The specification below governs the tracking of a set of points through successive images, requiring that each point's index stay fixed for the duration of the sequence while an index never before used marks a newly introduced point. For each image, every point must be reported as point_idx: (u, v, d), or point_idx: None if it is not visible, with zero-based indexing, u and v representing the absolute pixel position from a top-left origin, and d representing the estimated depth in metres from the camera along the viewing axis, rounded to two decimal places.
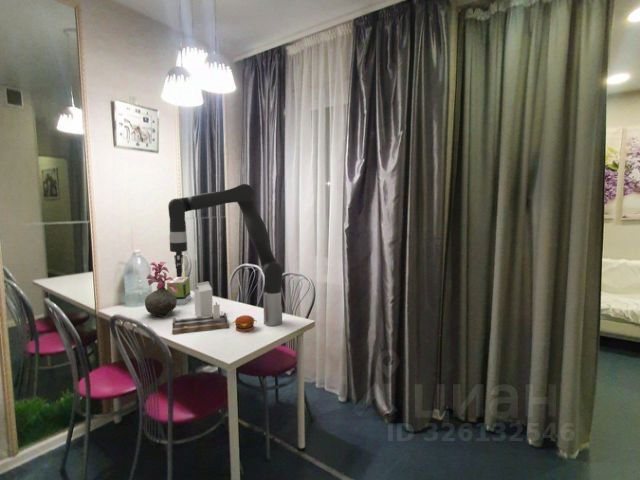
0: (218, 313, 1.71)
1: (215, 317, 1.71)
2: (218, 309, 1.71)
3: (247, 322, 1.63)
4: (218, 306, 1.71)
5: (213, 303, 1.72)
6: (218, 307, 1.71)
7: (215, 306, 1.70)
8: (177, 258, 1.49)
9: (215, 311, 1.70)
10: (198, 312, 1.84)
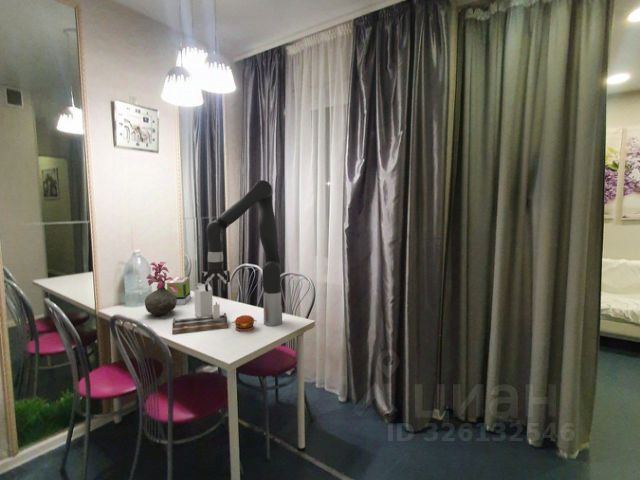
0: (218, 313, 1.71)
1: (215, 317, 1.71)
2: (218, 309, 1.71)
3: (247, 322, 1.63)
4: (218, 306, 1.71)
5: (213, 303, 1.72)
6: (218, 307, 1.71)
7: (215, 306, 1.70)
8: None
9: (215, 311, 1.70)
10: (198, 312, 1.84)
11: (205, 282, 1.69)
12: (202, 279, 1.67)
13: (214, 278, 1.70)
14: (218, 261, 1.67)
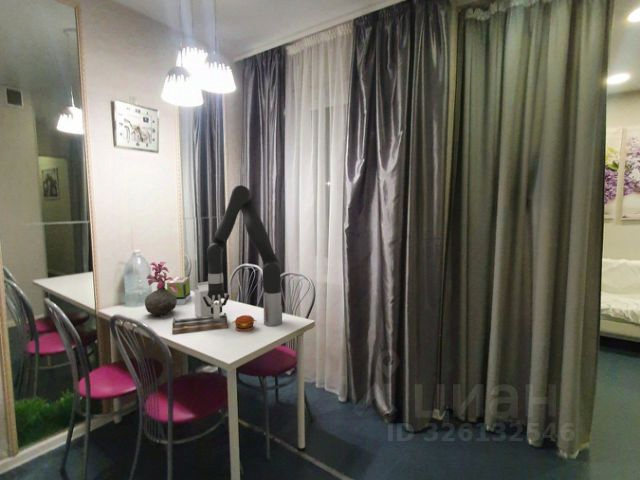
0: (218, 313, 1.71)
1: (215, 317, 1.71)
2: (218, 309, 1.71)
3: (247, 322, 1.63)
4: (218, 306, 1.71)
5: None
6: (218, 307, 1.71)
7: (215, 306, 1.70)
8: None
9: (215, 311, 1.70)
10: (198, 312, 1.84)
11: (211, 305, 1.71)
12: (206, 303, 1.69)
13: (216, 298, 1.71)
14: (218, 283, 1.68)
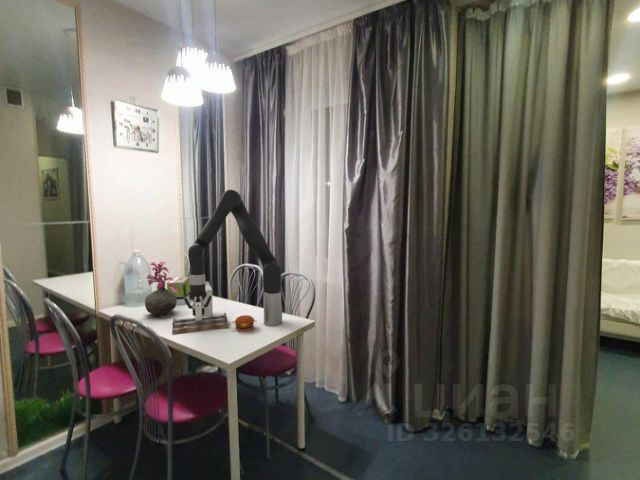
0: (200, 315, 1.68)
1: (197, 319, 1.68)
2: (200, 311, 1.68)
3: (247, 322, 1.63)
4: (200, 308, 1.68)
5: (195, 305, 1.69)
6: (200, 309, 1.68)
7: (197, 308, 1.67)
8: None
9: (197, 313, 1.67)
10: None
11: (192, 307, 1.68)
12: (188, 304, 1.66)
13: (198, 300, 1.68)
14: (200, 284, 1.65)
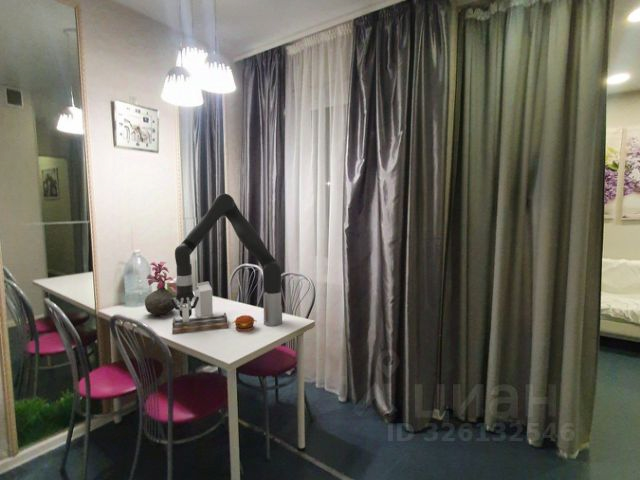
0: (187, 316, 1.66)
1: (184, 320, 1.66)
2: (187, 312, 1.66)
3: (247, 322, 1.63)
4: (187, 309, 1.65)
5: (182, 306, 1.67)
6: (187, 310, 1.66)
7: (184, 309, 1.65)
8: (198, 299, 1.69)
9: (184, 314, 1.65)
10: (198, 312, 1.84)
11: (179, 308, 1.66)
12: (174, 305, 1.64)
13: (185, 301, 1.66)
14: (187, 285, 1.63)
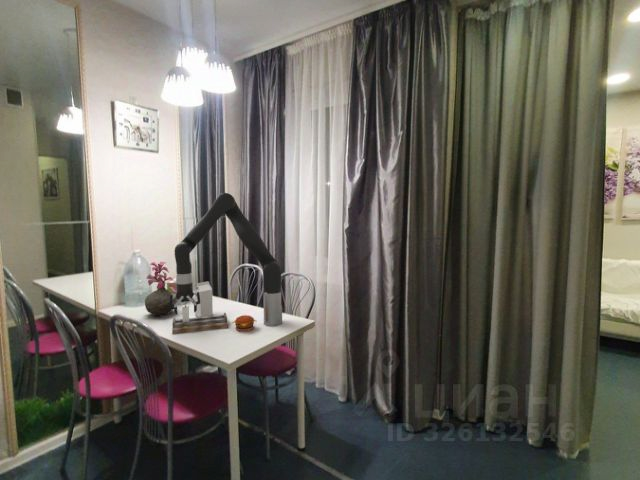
0: (187, 316, 1.66)
1: (184, 320, 1.66)
2: (187, 312, 1.66)
3: (247, 322, 1.63)
4: (187, 309, 1.65)
5: (182, 306, 1.67)
6: (187, 310, 1.66)
7: (184, 309, 1.65)
8: (199, 294, 1.68)
9: (184, 314, 1.65)
10: (198, 312, 1.84)
11: (174, 305, 1.64)
12: (171, 302, 1.63)
13: (183, 300, 1.65)
14: (187, 283, 1.63)
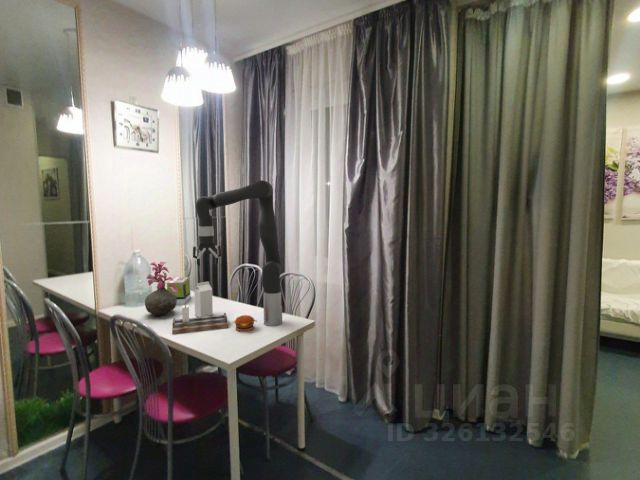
0: (187, 316, 1.66)
1: (184, 320, 1.66)
2: (187, 312, 1.66)
3: (247, 322, 1.63)
4: (187, 309, 1.65)
5: (182, 306, 1.67)
6: (187, 310, 1.66)
7: (184, 309, 1.65)
8: (220, 247, 1.76)
9: (184, 314, 1.65)
10: (198, 312, 1.84)
11: None
12: (194, 253, 1.71)
13: (205, 252, 1.73)
14: (209, 235, 1.71)
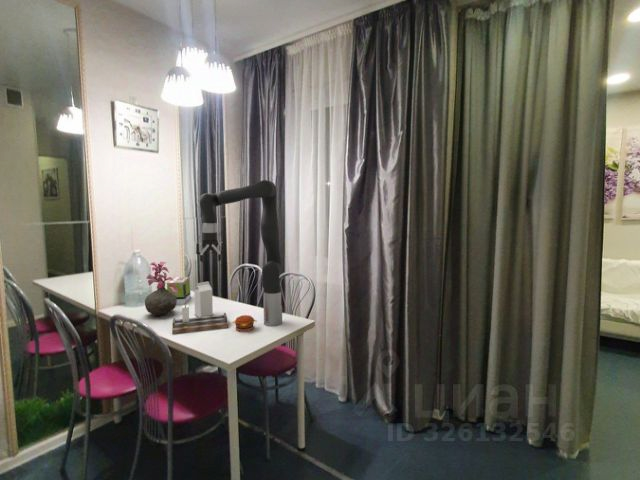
0: (187, 316, 1.66)
1: (184, 320, 1.66)
2: (187, 312, 1.66)
3: (247, 322, 1.63)
4: (187, 309, 1.65)
5: (182, 306, 1.67)
6: (187, 310, 1.66)
7: (184, 309, 1.65)
8: (223, 244, 1.78)
9: (184, 314, 1.65)
10: (198, 312, 1.84)
11: (200, 253, 1.74)
12: (197, 250, 1.73)
13: (209, 249, 1.75)
14: (212, 232, 1.72)
